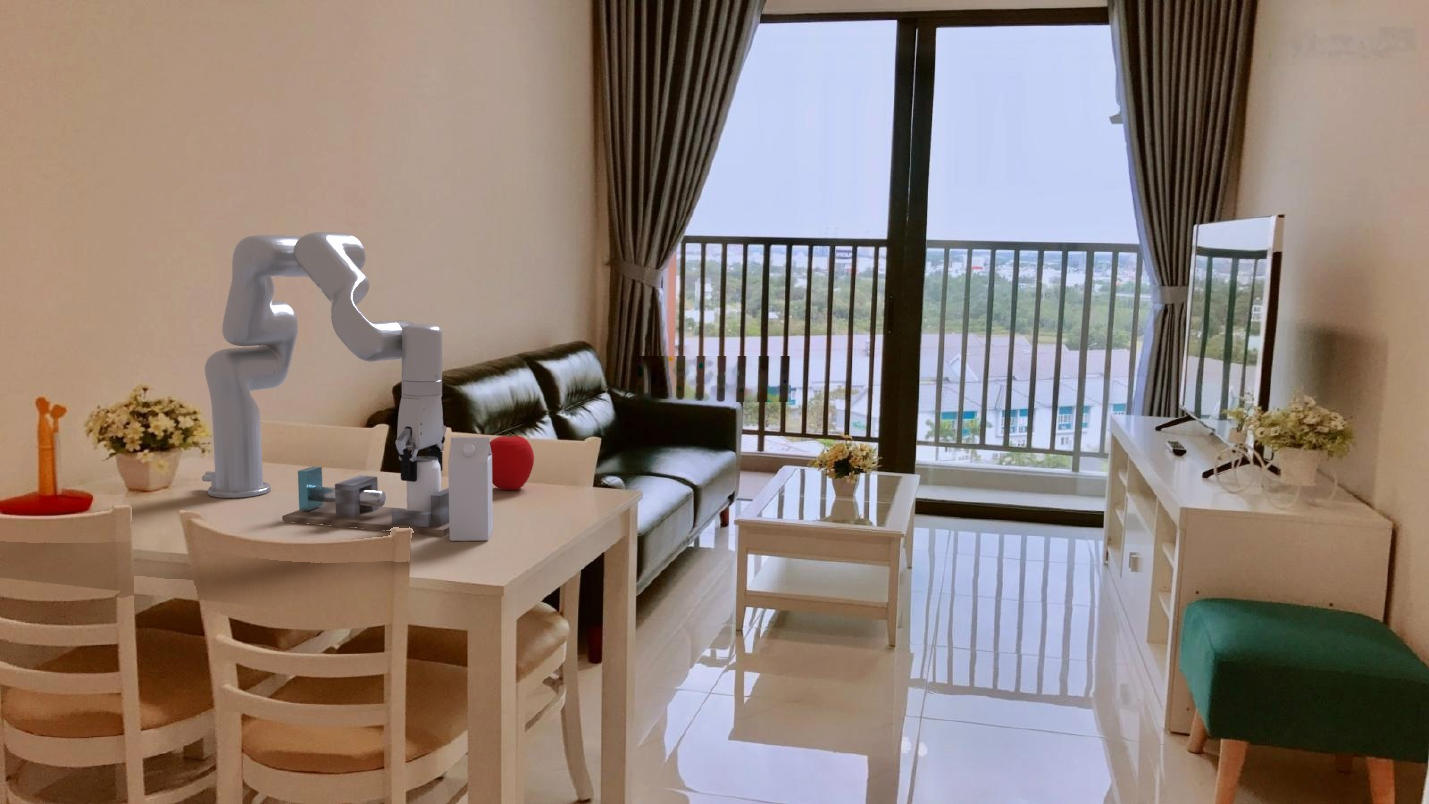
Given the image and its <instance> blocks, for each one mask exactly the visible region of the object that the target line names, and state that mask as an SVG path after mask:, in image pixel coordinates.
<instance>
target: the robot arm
mask: <svg viewBox="0 0 1429 804" xmlns="http://www.w3.org/2000/svg"><path fill="white" fill-rule="evenodd" d="M366 256H367V255H366V250H365V248H364V246H363V244H362V243H361V241H360V239H358V237H356V236H354V235H352V234H350V233H347V232H345V233H344V232H324V231H323V232H322V231H319V232H311V233H307V234H304V235H282V234H281V235H278V234H277V235H276V234H267V235H266V234H257V235H248V236H247V237H244V238H242V239H241V240H240V241H239V242H238V243H237V244H236V246H235V248H234V250H233V253H232V263H231V264H232V268H231V271H232V276H231V281H230V282H231V283H230V287H229V291H228V296H227V299H226V300H227V301H226V306H225V310H224V315H223V319H222V320H223V321H222V326H221V327H222V336H223V338H224V340H225V341H226V342H227V343H229V344H230V345H233V346H237V347H233V348H232V347H231V348H225V349H220V350H218V351H216V352H213V353H212V354H211V355H209V357H208V358H207V360H206V362H205V365H204V376H205V380H206V383H207V387H208V392H209V396H210V398H209V399H210V403H211V414H212V416H211V418H212V436H213V438H212V439H213V455H214V456H213V457H214V460H213V461H214V471H211V470H210V471H205V473H204V475H202V477H201V480H202V481H203V482H211V483H210V484H211V486H210V487H208V489H207V494H208V496H211V497H213V498H223V499H234V498H235V499H237V498H248V497H254V496H261V495H264V494H266V493H269V492H271V488H272V487H271V484H270V483H268V482H266V481H264V480H263V475H264V474H263V453H262V430H261V429H262V427H261V424H262V423H261V412H260V409H259V406H258V404H257V402H256V401H255V399H254V397H253V396H252V394H251V392H252V391H259V390H266V389H273V388H276V387H277V388H278V386H280V385H282V384H283V382H285V380H286V379H287V376H288V374H289V369H290V366H291V363H292V362H291V361H292V358H293V353H294V350H295V346H296V341H297V336H298V330H299V322H298V317H297V314H296V311H295V310H294V308H293V307H292V306H290V305H289V304H288V303H287V302H284V301H282V300H281V301H280V300H273V298H274V295H275V285H274V284H275V283H274V281H273V277H276V278H277V277H280V278H281V277H284V278H285V277H289V278H290V277H293V278H294V277H295V278H296V277H300V278H301V277H309V279H310V280H311V281H312V283H314V284H315V285H316V286H317V288H318V289H319V291H321V293H322V294H323V295H324V296H325V297H326V299H327V300H328V301H329V302H330V303H331V305H330V317H331V318H330V319H331V323H332V327H333V330H334V332H335V334H336V335H337V337H338V338H339V339H340V341H341V343H343V344H344V346H345V347H346V348H347V349H348V350H349V351H350V352H351V353H352V354H353V355H354V356H355V357H357V358H358V359H360V360H362V361H364V362H372V363H373V362H380V361H382V362H383V361H390V360H392V361H394V360H401V398H400V401H399V408H398V416H397V435H396V436H397V437H396V440H395V441H394V442H395V443H394V444H395V446H396V449H397V451H396V453H397V454H398V460H399V461H400V480H401V481H405V482H407V481H411V482H415V481H417V461H414V460H415V458H416V457H417V454H418V452H419V451H420V450H423V449H427V450H426V456H433V457H437V458H438V462H439V464H440V468H441V472H442V471H443V452H444V450H445V447H444V443H445V442H446V433H447V426H446V425H444V416H443V415H444V413H443V404H442V403H443V402H442V397H443V331H442V329H441V328H440V327H439V326H437V325H434V324H426V323H425V324H424V323H419V324H418V323H415V322H411V321H408V320H384V321H381V320H380V321H369V320H368V319H367V318H366V317H365V316H364V315H363V314H362V312H361V311H360V310H359V309H358V308H357V305H358V304H360V303H361V302H362V300H364V298H365V297H366V296H367V294H368V292H369V288H370V281H369V279H368V277H367V276H366V275H365V274H364V273H363V272H362V271H361V269H362V268H363V267H364V265H365V262H366ZM410 451H411V452H410Z"/></svg>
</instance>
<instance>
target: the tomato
mask: <svg viewBox="0 0 1429 804" xmlns="http://www.w3.org/2000/svg"><path fill="white" fill-rule="evenodd" d="M490 447H491V452H492V486H494V487H496V488H498V489H499V490H504V491H516V490H517V491H518V490H519V489H521V488H523V487H524V485H526V483H527V482H528V480H529V478H530V476H531V474H532V471H533V468H534V464H535V463H534V462H535V455H534V450H533V448H532V446H531V443H530V442H529V441H528V439H526V438H525V437H523V436H521V435H518V434H512V432H510V433H509V434H507V433H506V434H505V435H501V436H497V437H495V438H493V439H492V440H490Z"/></svg>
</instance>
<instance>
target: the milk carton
mask: <svg viewBox="0 0 1429 804" xmlns="http://www.w3.org/2000/svg"><path fill="white" fill-rule="evenodd" d="M490 441H491V438H490V437H489V436H479V437H478V436H451V437H450V447H449V453H448V462H447V463H448V488H449V531H450V533H449V541H454V542H455V541H456V542H457V541H462V542H463V541H466V542H467V541H469V542H470V541H489V539H490V537H491V535H492V533H493V532H494V531H493V530H494V528H493V527H494V526H493V525H494V521H493V519H494V517H493V515H494V513H493V508H494V507H493V484H492V452H491V447H490Z"/></svg>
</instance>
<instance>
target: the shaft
mask: <svg viewBox="0 0 1429 804" xmlns="http://www.w3.org/2000/svg"><path fill="white" fill-rule="evenodd" d="M297 484H298V485H297V487H298V488H297V489H298V507H299V508H298V510H307V511H308V510H311V509H314V508H316V507H319V506H322V505H323V502H330V503H335V487H330V486H323V467H322V466H310V467H307V468H303V469H300V470H297ZM386 496H387V495H386V493H385V492H384V491H383V490H382V491H381V490H380V491H379V490H378V491H370V490H359V505H367V506H379V507H384V505H385V504H386V499H387V498H386Z"/></svg>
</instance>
